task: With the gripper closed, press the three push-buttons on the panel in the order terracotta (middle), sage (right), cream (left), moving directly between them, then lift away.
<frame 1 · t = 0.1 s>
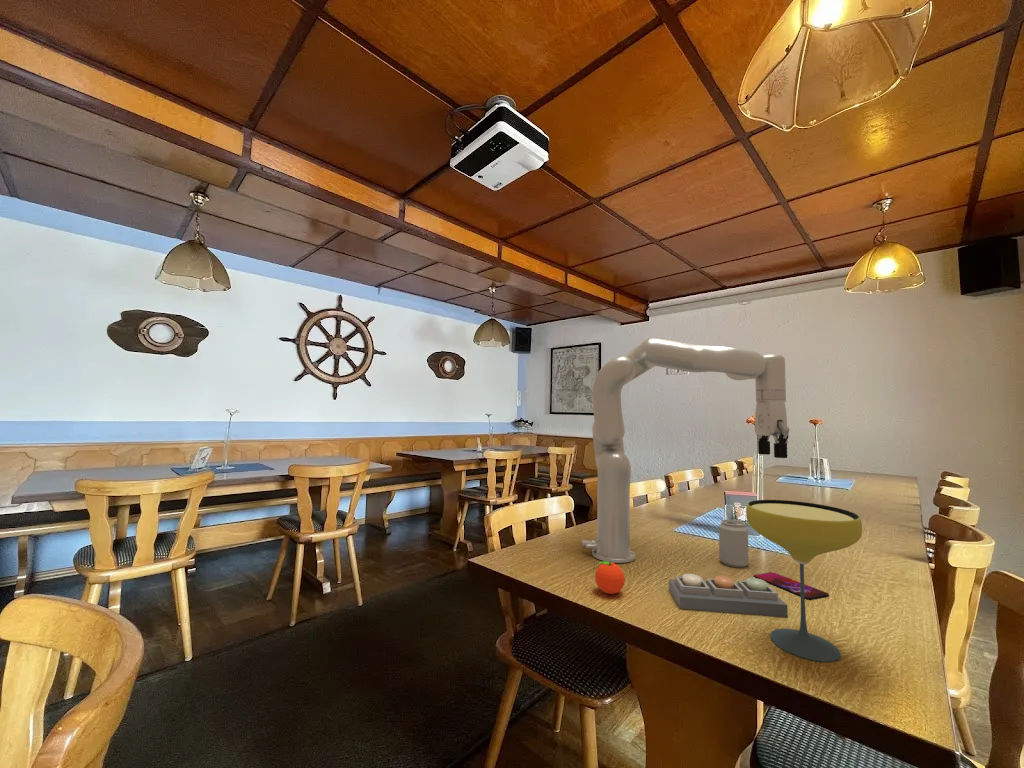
hand: (772, 456, 121), 31 cm above the table, tool pointing down, fingers open, 9 cm apart
can: (733, 564, 120), on the table
button panel: (724, 602, 95), on the table
smartphone: (789, 588, 105), on the table
cream button: (692, 580, 97), point 4 cm above the table, slide at 0.0 cm
cocktail glass: (803, 646, 78), on the table
sage button: (756, 584, 95), point 4 cm above the table, slide at 0.0 cm
clementine: (607, 593, 100), on the table
terracotta button: (724, 582, 96), point 4 cm above the table, slide at 0.0 cm
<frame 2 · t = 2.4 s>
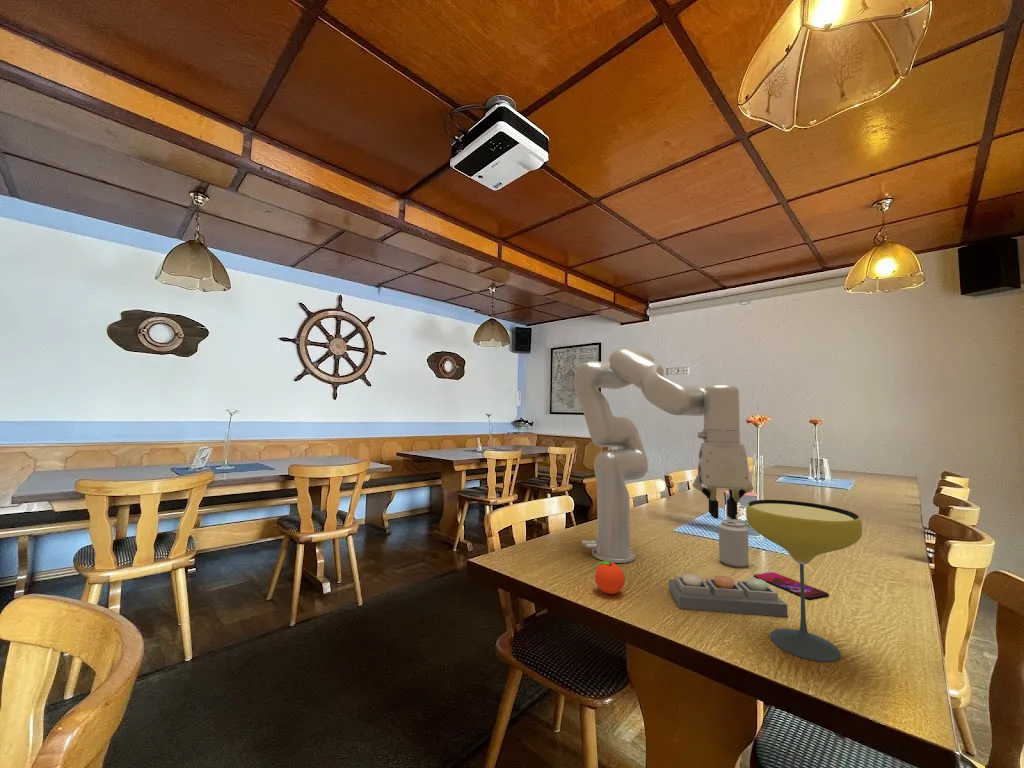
hand: (722, 516, 97), 19 cm above the table, tool pointing down, fingers open, 3 cm apart
nothing on the table moved.
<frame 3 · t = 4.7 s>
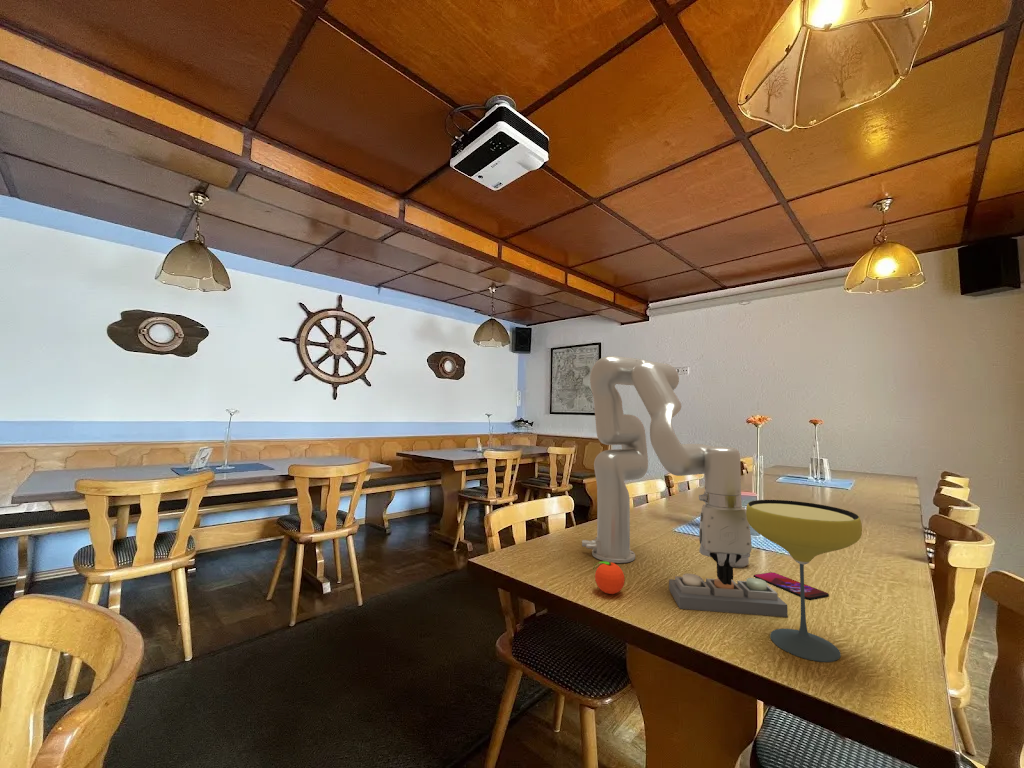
hand: (725, 582, 95), 5 cm above the table, tool pointing down, fingers closed
terracotta button: (724, 585, 96), point 4 cm above the table, slide at 0.6 cm, touching gripper
everything else where it was.
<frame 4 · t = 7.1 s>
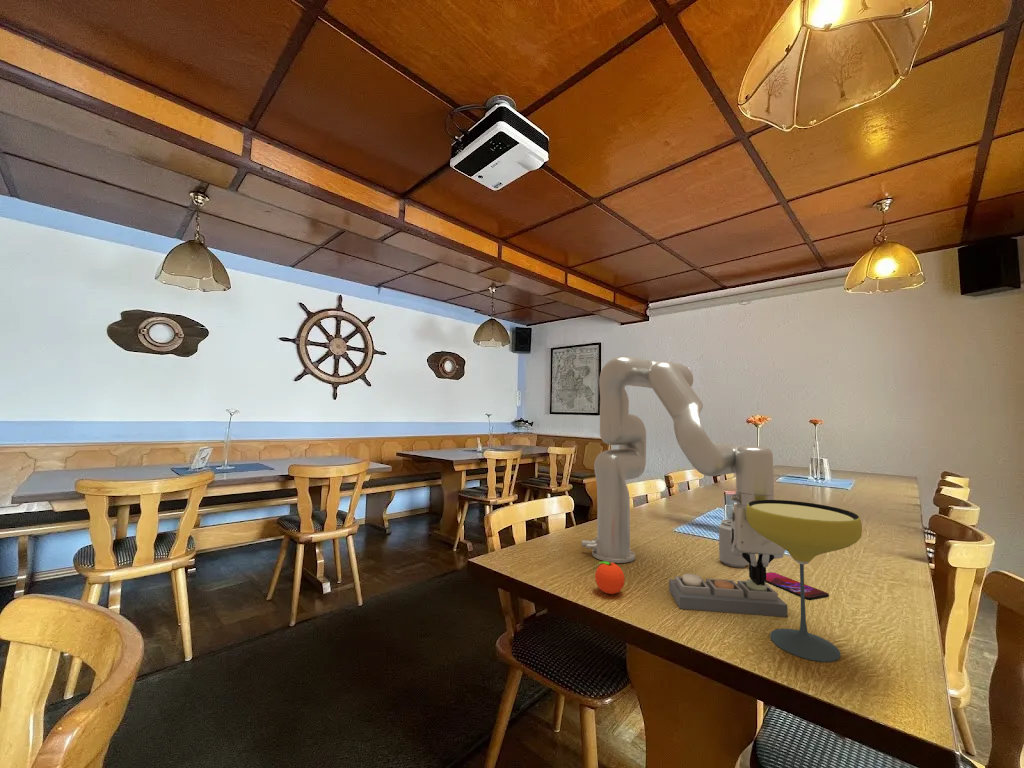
hand: (757, 582, 95), 5 cm above the table, tool pointing down, fingers closed
sage button: (756, 586, 95), point 4 cm above the table, slide at 0.3 cm, touching gripper
terracotta button: (724, 586, 96), point 3 cm above the table, slide at 0.9 cm
everything else where it was.
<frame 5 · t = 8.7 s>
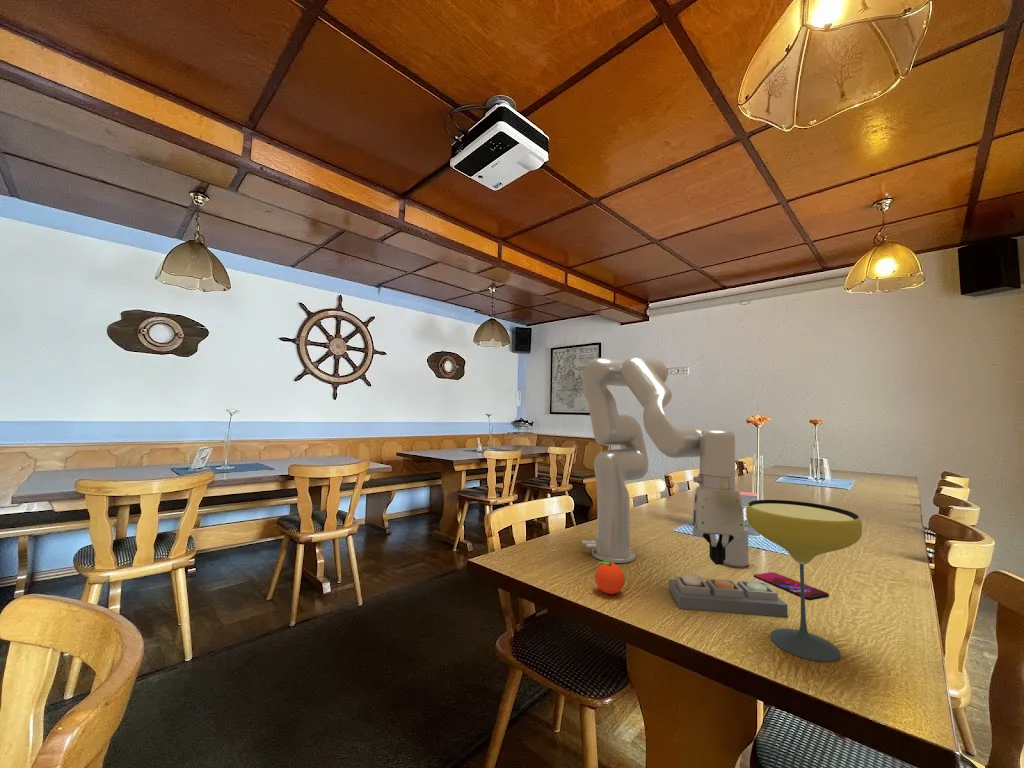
hand: (717, 562, 96), 9 cm above the table, tool pointing down, fingers closed
sage button: (756, 589, 95), point 3 cm above the table, slide at 0.9 cm
everything else where it was.
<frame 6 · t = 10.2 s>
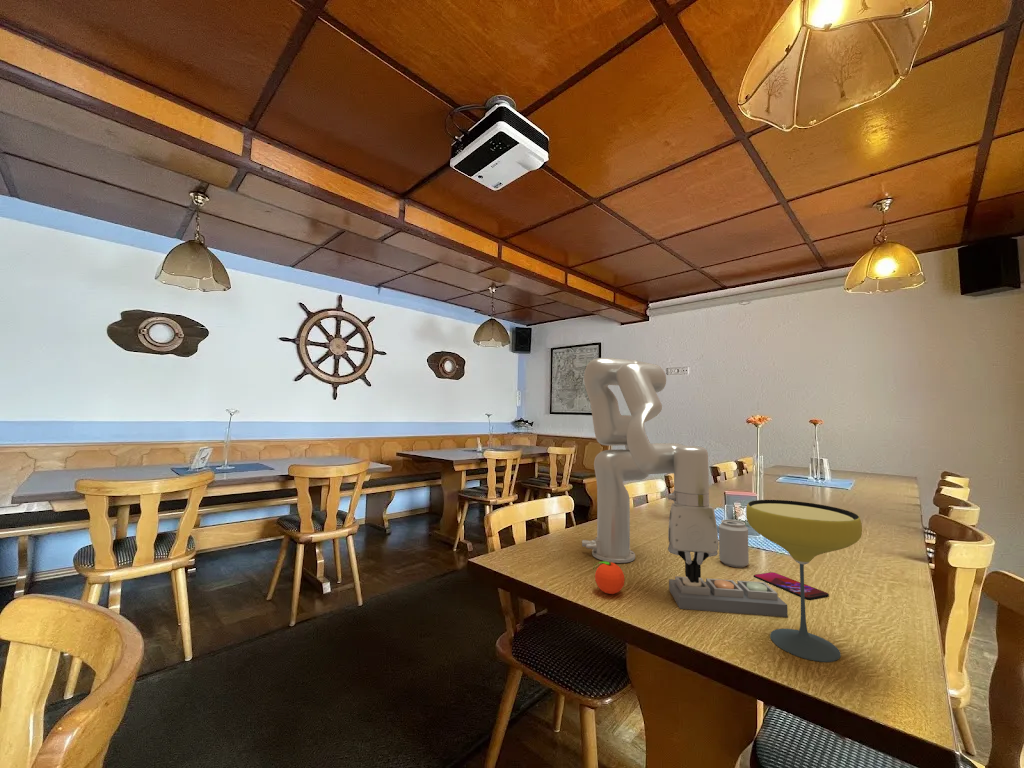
hand: (693, 580, 96), 5 cm above the table, tool pointing down, fingers closed
cream button: (692, 583, 97), point 4 cm above the table, slide at 0.7 cm, touching gripper
everything else where it was.
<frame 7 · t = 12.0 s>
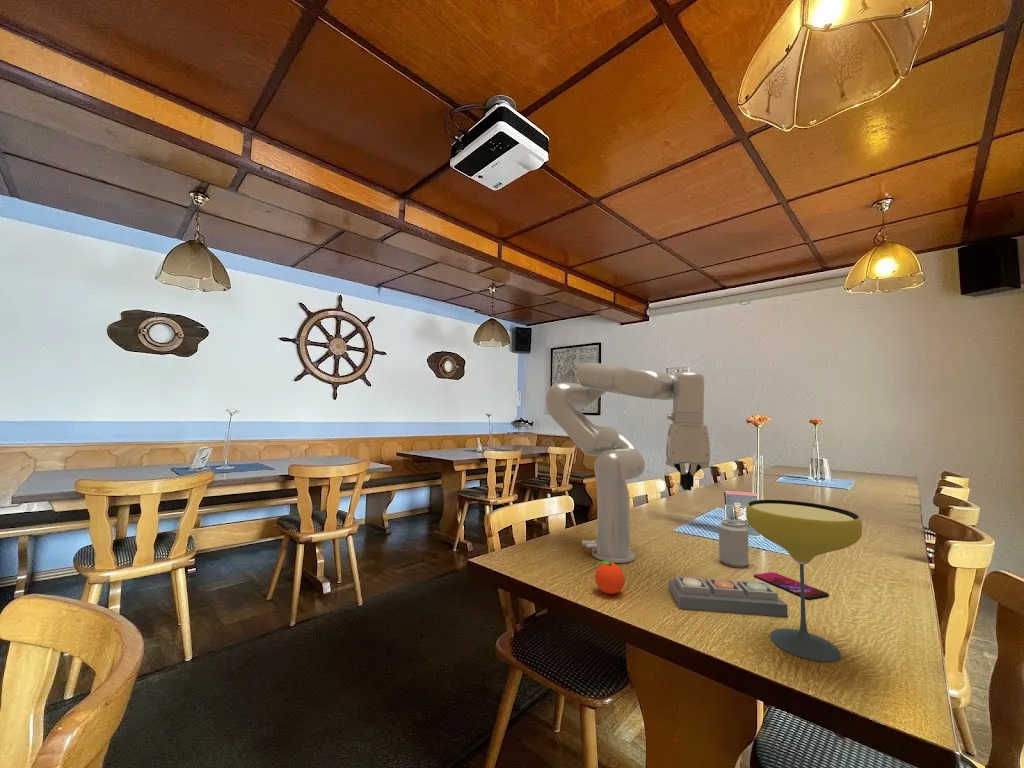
hand: (686, 489, 109), 23 cm above the table, tool pointing down, fingers closed
cream button: (692, 584, 97), point 3 cm above the table, slide at 1.0 cm
everything else where it was.
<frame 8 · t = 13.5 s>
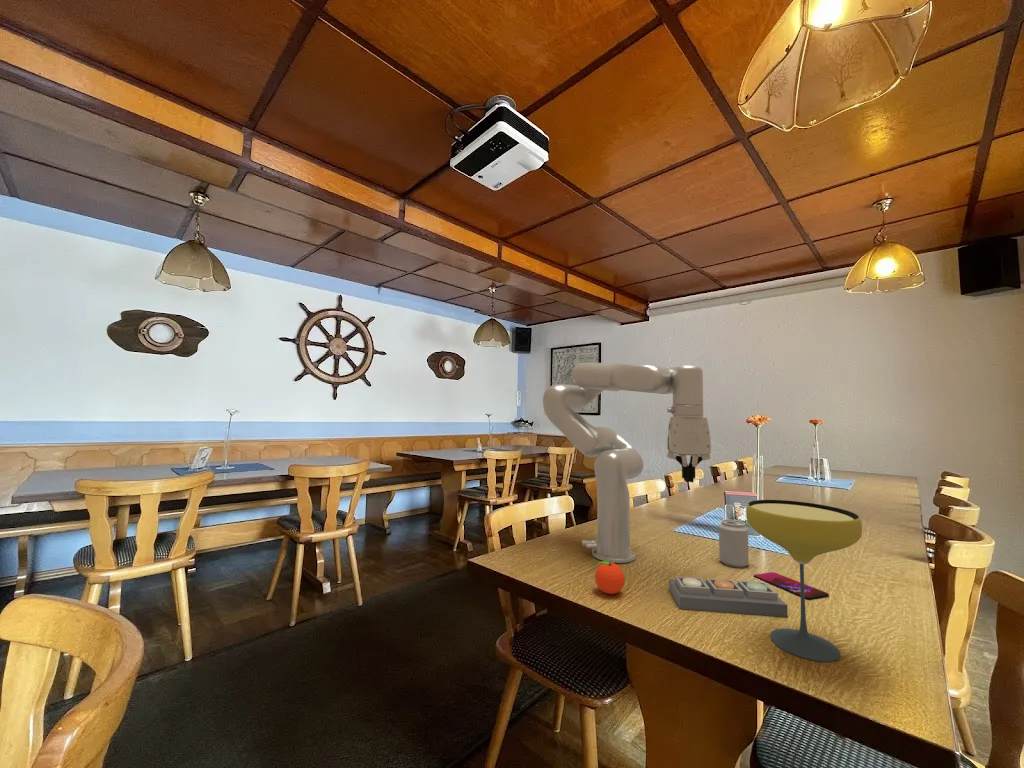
hand: (688, 481, 110), 25 cm above the table, tool pointing down, fingers closed
nothing on the table moved.
at the end: terracotta button slide at 0.9 cm; sage button slide at 0.9 cm; cream button slide at 1.0 cm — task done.
